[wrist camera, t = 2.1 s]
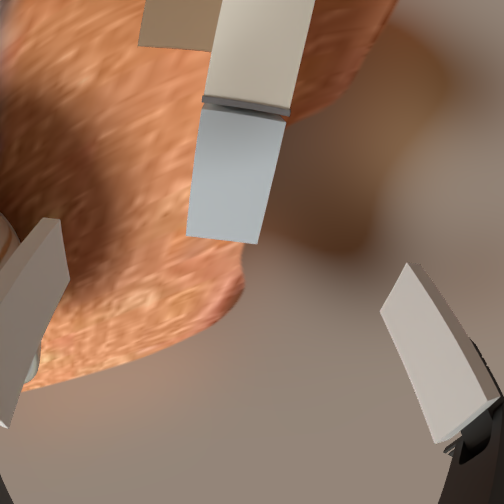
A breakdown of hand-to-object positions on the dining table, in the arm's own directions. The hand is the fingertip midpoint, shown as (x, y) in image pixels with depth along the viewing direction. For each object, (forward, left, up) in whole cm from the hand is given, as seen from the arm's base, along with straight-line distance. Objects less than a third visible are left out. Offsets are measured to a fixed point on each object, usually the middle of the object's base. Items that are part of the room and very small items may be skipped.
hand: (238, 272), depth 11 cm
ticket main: (-3, +9, -18) cm, 21 cm away
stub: (0, +1, -18) cm, 18 cm away
